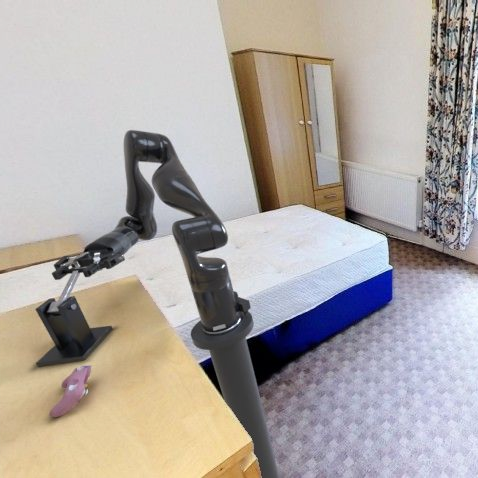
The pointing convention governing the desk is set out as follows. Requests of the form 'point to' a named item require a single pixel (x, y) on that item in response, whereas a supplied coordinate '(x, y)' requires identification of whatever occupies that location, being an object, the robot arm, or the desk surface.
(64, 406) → the pink curved piece
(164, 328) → the desk surface
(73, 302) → the bracket
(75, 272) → the lever
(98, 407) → the desk surface
